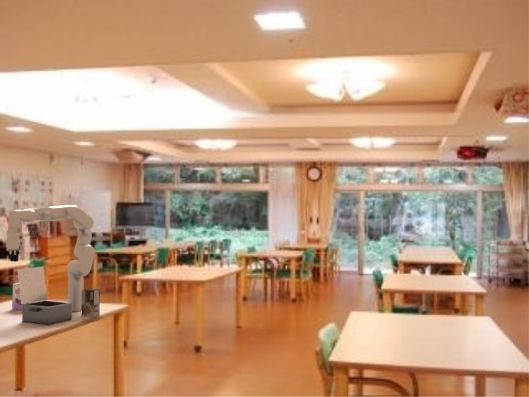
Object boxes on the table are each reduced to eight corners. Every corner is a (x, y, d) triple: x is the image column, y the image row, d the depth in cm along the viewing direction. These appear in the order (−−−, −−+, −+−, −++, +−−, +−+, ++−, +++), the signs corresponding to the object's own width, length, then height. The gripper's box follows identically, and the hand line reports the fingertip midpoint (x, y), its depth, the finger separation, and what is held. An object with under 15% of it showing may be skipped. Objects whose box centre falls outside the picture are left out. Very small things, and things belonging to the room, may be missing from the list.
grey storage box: (48, 316, 364) (48, 299, 364) (74, 319, 356) (74, 302, 356) (19, 322, 344) (19, 305, 345) (45, 326, 336) (46, 308, 336)
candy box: (11, 309, 387) (12, 283, 387) (18, 308, 393) (19, 282, 393) (28, 311, 382) (29, 284, 382) (35, 309, 387) (35, 283, 388)
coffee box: (100, 315, 370) (100, 289, 370) (93, 317, 364) (94, 290, 364) (87, 314, 373) (87, 288, 373) (80, 316, 367) (81, 289, 367)
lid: (47, 299, 363) (43, 300, 364) (43, 266, 364) (40, 267, 366) (22, 304, 346) (19, 304, 347) (18, 269, 348) (15, 269, 349)
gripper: (29, 230, 362) (28, 261, 362) (10, 229, 369) (9, 260, 369) (19, 231, 356) (18, 262, 355) (0, 230, 362) (-1, 261, 362)
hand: (14, 261), depth 362 cm, fingers closed
